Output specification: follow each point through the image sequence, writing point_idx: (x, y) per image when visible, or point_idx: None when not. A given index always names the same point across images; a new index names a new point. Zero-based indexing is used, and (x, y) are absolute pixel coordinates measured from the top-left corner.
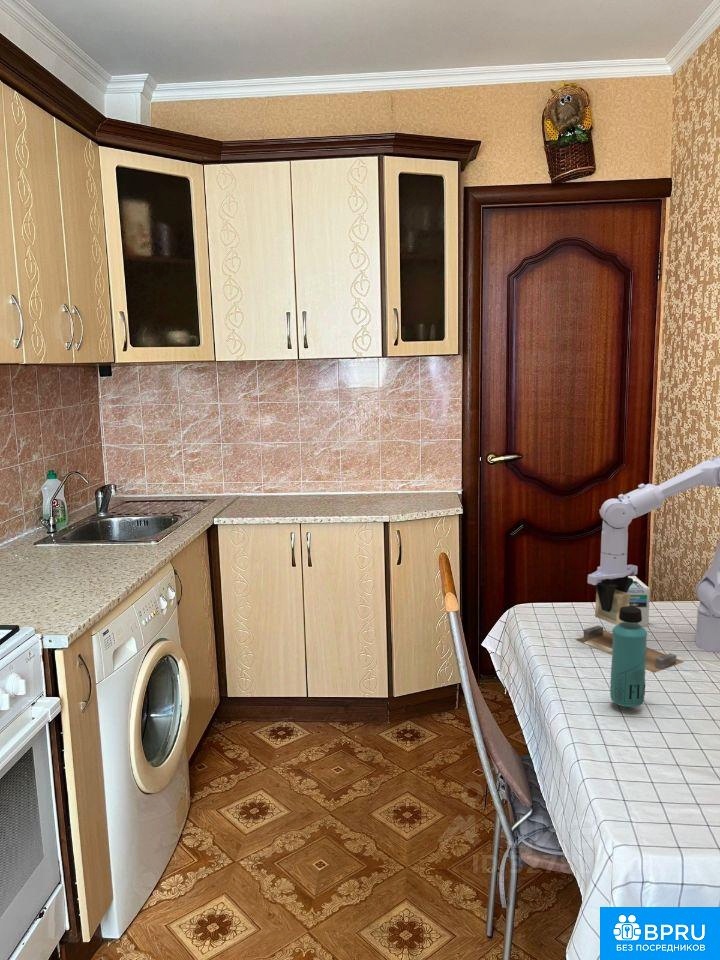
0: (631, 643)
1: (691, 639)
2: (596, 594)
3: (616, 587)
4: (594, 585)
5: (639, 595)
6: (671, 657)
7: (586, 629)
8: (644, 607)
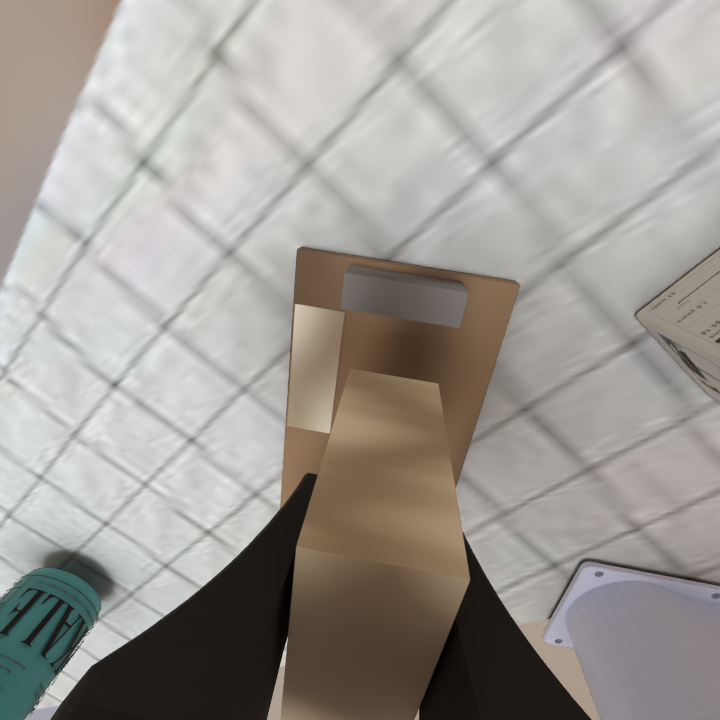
0: None
1: (684, 547)
2: (316, 485)
3: (440, 705)
4: (124, 656)
5: None
6: None
7: (358, 282)
8: None
